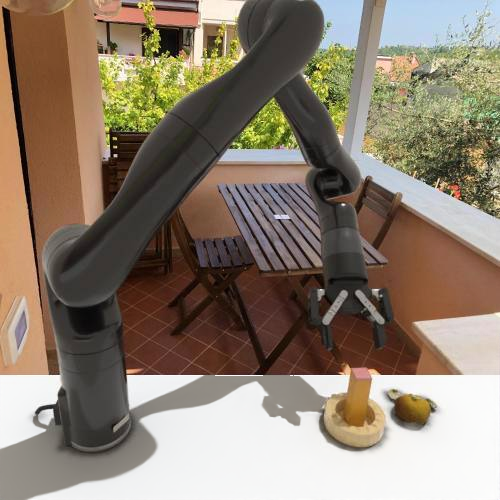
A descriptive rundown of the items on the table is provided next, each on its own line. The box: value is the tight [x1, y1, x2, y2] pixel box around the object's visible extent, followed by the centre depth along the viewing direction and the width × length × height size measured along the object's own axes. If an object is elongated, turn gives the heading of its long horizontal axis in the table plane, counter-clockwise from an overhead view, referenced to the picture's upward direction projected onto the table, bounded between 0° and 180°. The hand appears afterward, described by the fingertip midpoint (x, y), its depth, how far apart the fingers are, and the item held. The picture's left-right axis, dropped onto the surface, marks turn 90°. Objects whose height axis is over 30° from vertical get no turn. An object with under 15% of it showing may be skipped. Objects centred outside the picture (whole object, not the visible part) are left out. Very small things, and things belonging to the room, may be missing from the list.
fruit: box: [387, 388, 438, 426], centre depth 74 cm, size 8×8×4 cm
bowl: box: [323, 392, 386, 448], centre depth 71 cm, size 10×10×3 cm
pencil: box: [344, 367, 373, 427], centre depth 69 cm, size 3×3×10 cm
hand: (354, 349), depth 70 cm, fingers open, 8 cm apart
